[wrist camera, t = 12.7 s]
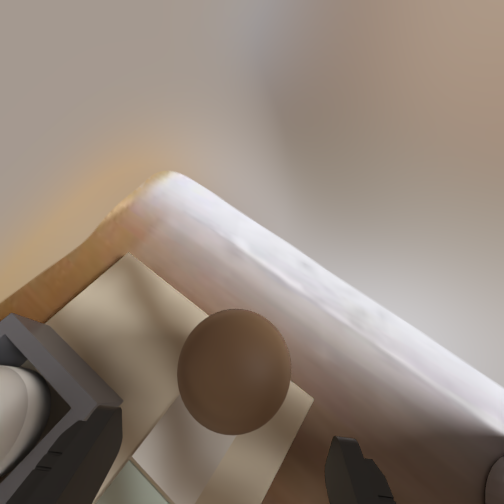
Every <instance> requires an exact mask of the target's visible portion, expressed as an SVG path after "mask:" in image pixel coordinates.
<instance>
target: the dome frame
mask: <svg viewBox="0 0 504 504" xmlns="http://www.w3.org/2000/svg"><path fill="white" fill-rule="evenodd" d="M27 360H29V361H30V362H31V363H32V364H33V366H34V367H35V368H36V369H37V370H38V371H39V372H40V373H41V374H42V376H43V377H44V378H45V379H46V380H47V381H48V382H49V383H50V384H51V386H52V387H53V388H54V389H55V390H56V391H57V392H58V393H59V394H60V396H61V397H62V398H63V399H64V400H65V401H66V402H67V403H68V404H69V406H70V407H71V409H70V410H69V412H68V413H67V414H66V415H65V416H64V417H63V418H62V419H61V420H60V421H59V422H58V423H57V424H56V425H55V426H54V427H53V428H52V430H51V431H50V432H49V433H48V434H47V435H46V436H45V437H44V438H43V439H42V440H41V441H40V442H39V443H38V444H37V445H36V446H35V448H34V449H33V450H32V451H31V452H30V453H29V454H28V455H27V456H26V457H25V458H24V459H23V460H22V461H21V462H20V463H19V465H18V466H17V467H16V468H15V469H14V470H13V471H12V472H11V473H10V474H9V475H8V476H7V477H6V478H5V479H4V480H3V481H2V483H1V484H0V504H6V502H7V501H8V500H9V499H10V497H11V496H12V495H13V494H14V492H15V491H16V490H17V489H18V487H19V486H20V485H21V484H22V482H23V481H24V480H25V479H26V477H27V476H28V475H29V474H30V472H31V471H32V470H34V469H35V467H36V465H37V464H38V462H39V461H40V460H41V459H42V457H43V456H44V455H45V454H47V452H48V450H49V449H50V447H51V446H52V445H53V444H54V442H55V441H56V440H57V439H58V437H59V436H60V435H61V434H62V433H63V432H64V431H65V430H67V429H68V428H69V427H70V426H72V425H73V424H74V423H75V422H77V421H78V420H82V421H87V419H88V418H89V417H90V415H91V414H92V413H93V411H94V410H95V409H96V408H97V407H98V406H99V405H107V406H115V407H119V406H120V405H121V403H122V402H123V400H122V399H121V398H120V397H119V396H118V394H117V393H116V392H115V391H114V390H113V389H112V388H111V387H110V386H109V385H108V384H107V383H106V382H105V381H104V380H103V379H102V378H101V377H100V376H99V375H98V374H97V373H96V372H95V371H94V370H93V369H92V368H91V367H90V366H89V365H88V364H87V363H86V362H85V361H84V360H83V359H82V358H81V357H80V356H79V355H78V354H77V353H76V352H75V351H74V350H73V349H72V348H71V347H70V346H69V345H68V344H67V343H66V342H65V341H64V340H63V339H62V338H61V337H60V336H59V335H58V334H57V333H56V332H55V331H54V330H53V329H52V328H51V327H50V326H49V325H46V324H43V323H40V322H37V321H34V320H31V319H28V318H26V317H23V316H20V315H17V314H14V313H11V314H9V315H8V316H7V317H6V318H4V319H3V320H2V321H0V365H3V366H13V367H20V366H21V365H22V364H23V363H25V362H26V361H27Z"/></svg>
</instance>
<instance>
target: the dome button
mask: <svg viewBox="0 0 504 504" xmlns="http://www.w3.org/2000/svg"><path fill="white" fill-rule="evenodd" d="M50 408H51V394H50V390H49V386H48V384H47V382H46V381H45V379H44V378H43V377H42V376H41V375H40V374H39V373H37V372H36V371H34V370H31V369H28V368H23V367H13V366H3V365H0V478H1V477H3V476H4V475H6V474H7V473H9V472H10V471H11V470H13V469H14V468H15V467H16V466H17V465H18V464H19V463H20V462H21V461H22V460H23V459H24V458H25V457H26V456H27V455H28V454H29V453H30V452H31V450H32V449H33V448H34V446H35V445H36V443H37V442H38V440H39V438H40V437H41V435H42V433H43V431H44V429H45V426H46V424H47V421H48V418H49V414H50Z"/></svg>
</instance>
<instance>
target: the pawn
mask: <svg viewBox="0 0 504 504" xmlns="http://www.w3.org/2000/svg"><path fill="white" fill-rule="evenodd" d="M290 380H291V360H290V355H289V351H288V348H287V345H286V343H285V341H284V339H283V337H282V335H281V334H280V332H279V331H278V329H277V328H276V327H275V326H274V325H273V324H272V323H271V322H270V321H269V320H267V319H266V318H264V317H263V316H261V315H259V314H257V313H255V312H252V311H248V310H244V309H229V310H223V311H220V312H217V313H215V314H212V315H210V316H209V317H207V318H205V319H204V320H203V321H201V322H200V323H199V324H198V325H197V326H196V327H195V328H194V329H193V330H192V332H191V333H190V334H189V336H188V337H187V339H186V341H185V343H184V345H183V347H182V350H181V353H180V356H179V361H178V367H177V382H178V388H179V392H180V395H181V398H182V401H183V403H184V405H185V407H186V408H187V410H188V412H189V413H190V414H191V415H192V417H193V418H194V419H195V420H196V421H197V422H198V423H200V424H201V425H202V426H204V427H205V428H207V429H209V430H211V431H213V432H216V433H219V434H223V435H242V434H246V433H249V432H252V431H254V430H256V429H258V428H260V427H262V426H263V425H265V424H266V423H267V422H268V421H269V420H271V419H272V418H273V417H274V415H275V414H276V413H277V412H278V410H279V409H280V407H281V406H282V404H283V402H284V400H285V398H286V395H287V393H288V390H289V385H290Z"/></svg>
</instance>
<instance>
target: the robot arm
mask: <svg viewBox="0 0 504 504" xmlns="http://www.w3.org/2000/svg"><path fill="white" fill-rule="evenodd" d="M122 438H123V431H122V409H121V407H115V406H107V405H99V406H98V407H97V408H96V409H95V410H94V411H93V413H92V414H91V415H90V417H89V418H88V419H87V421H82V420H78V421H77V422H75V423H74V424H73V425H72V426H70V427H69V428H68V429H67V430H65V431H64V432H63V433H62V434H61V435H60V436H59V437H58V439H57V440H56V441H55V442H54V444H53V445H52V446H51V447H50V449H49V450H48V452H47V454H45V455H44V456H43V457H42V459H41V460H40V461H39V462H38V464H37V465H36V467H35V469H34V470H32V471H31V472H30V474H29V475H28V476H27V477H26V479H25V480H24V481H23V482H22V484H21V485H20V486H19V487H18V489H17V490H16V491H15V492H14V494H13V495H12V496H11V497H10V499H9V500H8V501H7V502H6V504H92V503H93V501H94V499H95V497H96V495H97V493H98V491H99V489H100V487H101V486H102V484H103V482H104V480H105V478H106V476H107V474H108V472H109V470H110V469H111V467H112V465H113V463H114V461H115V459H116V457H117V455H118V453H119V450H120V447H121V443H122ZM325 482H326V488H327V492H328V497H329V502H330V504H396V502H395V501H394V499H393V495H392V493H391V490H390V488H389V486H388V483H387V481H386V478H385V476H384V475H383V474H382V472H381V471H380V470H379V468H378V467H377V465H376V464H375V463H374V461H373V460H372V459H365V458H364V457H363V454H362V452H361V449H360V446H359V444H358V442H357V441H356V439H353V438H345V437H338V436H334V437H333V439H332V443H331V446H330V450H329V453H328V457H327V461H326V464H325ZM485 504H504V456H503V457H501V458H499V460H498V461H497V462H496V463H495V464H494V465H493V466H492V469H491V471H490V473H489V475H488V478H487V484H486V489H485Z"/></svg>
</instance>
